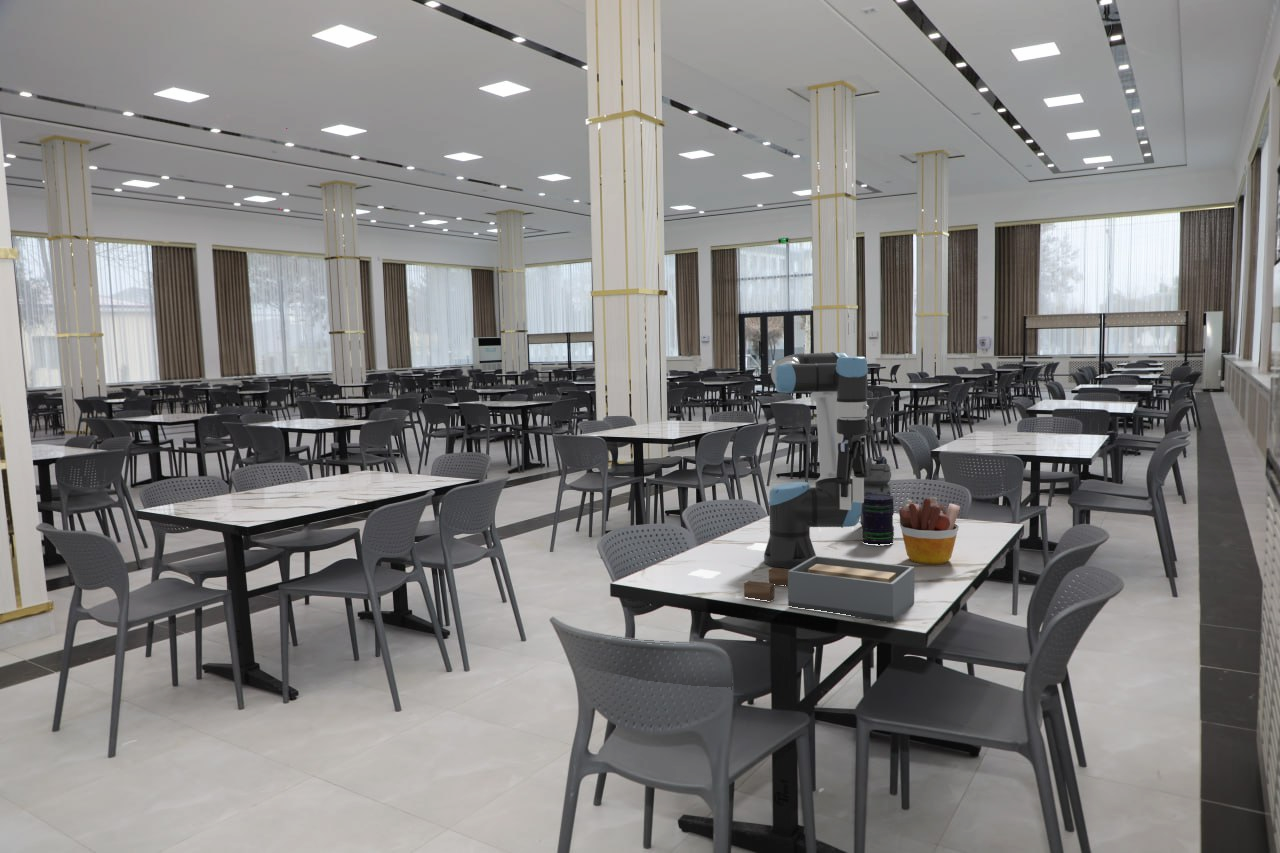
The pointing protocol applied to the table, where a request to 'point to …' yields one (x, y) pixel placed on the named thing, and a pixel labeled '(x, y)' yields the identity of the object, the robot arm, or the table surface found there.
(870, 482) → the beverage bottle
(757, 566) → the table surface
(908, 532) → the bucket of meat
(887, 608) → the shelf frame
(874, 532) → the storage jar
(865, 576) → the shelf board
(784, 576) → the wooden blocks
